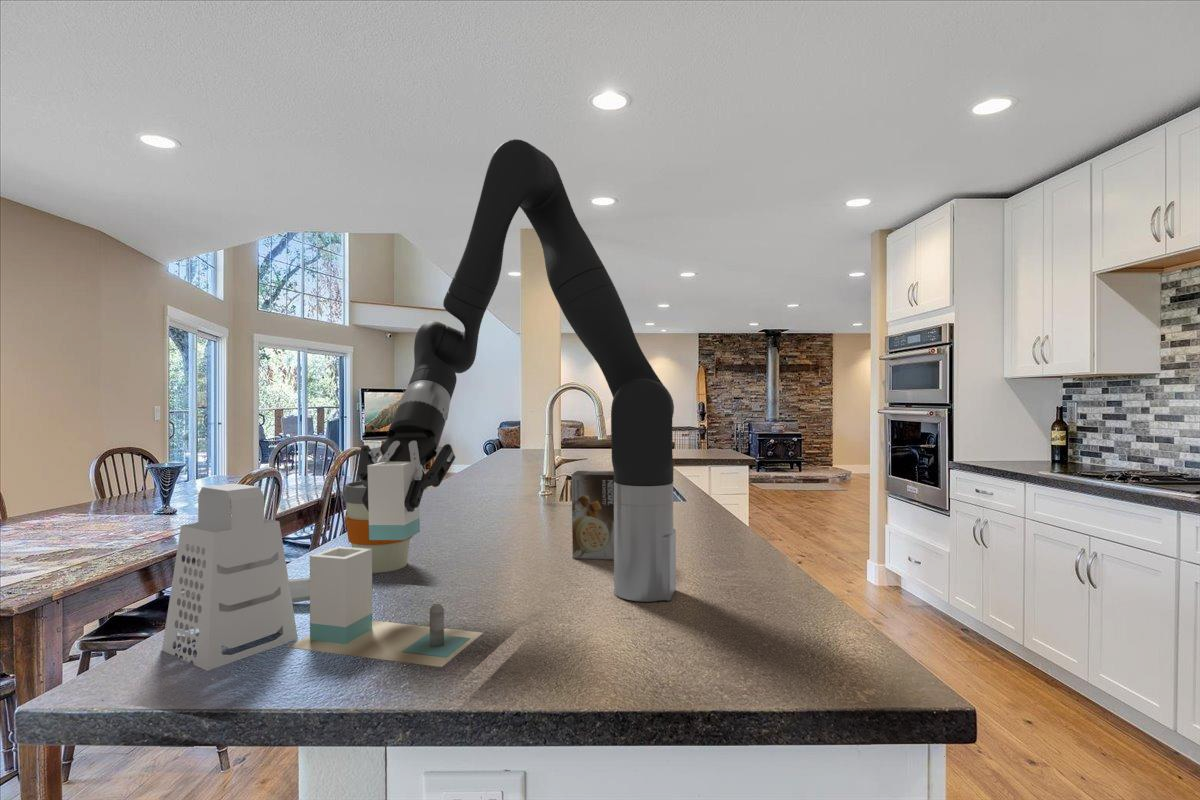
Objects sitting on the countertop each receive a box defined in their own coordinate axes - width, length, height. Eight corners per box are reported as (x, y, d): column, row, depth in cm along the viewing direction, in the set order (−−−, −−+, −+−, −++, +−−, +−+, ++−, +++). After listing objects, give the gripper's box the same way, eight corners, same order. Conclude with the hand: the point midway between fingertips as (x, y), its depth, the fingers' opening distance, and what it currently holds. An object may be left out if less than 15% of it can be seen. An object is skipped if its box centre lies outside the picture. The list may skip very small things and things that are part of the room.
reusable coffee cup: (404, 575, 106) (404, 488, 106) (331, 575, 106) (330, 488, 106) (425, 557, 118) (425, 478, 118) (360, 556, 119) (360, 478, 118)
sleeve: (419, 531, 88) (418, 461, 87) (405, 540, 83) (403, 465, 83) (385, 531, 88) (384, 461, 88) (369, 540, 83) (367, 465, 83)
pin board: (483, 644, 76) (483, 593, 76) (441, 680, 66) (441, 622, 66) (344, 628, 81) (344, 581, 81) (287, 659, 72) (287, 605, 72)
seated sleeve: (372, 628, 77) (371, 548, 77) (345, 644, 73) (345, 558, 73) (338, 625, 79) (337, 546, 79) (309, 639, 74) (309, 556, 74)
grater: (206, 685, 65) (205, 496, 65) (159, 663, 71) (159, 489, 71) (299, 651, 74) (299, 484, 74) (251, 633, 80) (251, 478, 80)
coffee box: (623, 552, 122) (623, 470, 122) (618, 560, 116) (618, 474, 116) (577, 550, 123) (577, 469, 123) (570, 558, 117) (570, 473, 117)
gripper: (368, 400, 93) (326, 492, 81) (460, 398, 92) (432, 491, 80) (384, 433, 99) (348, 524, 87) (472, 432, 97) (447, 524, 85)
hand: (388, 507), depth 83 cm, fingers closed on sleeve, 5 cm apart
